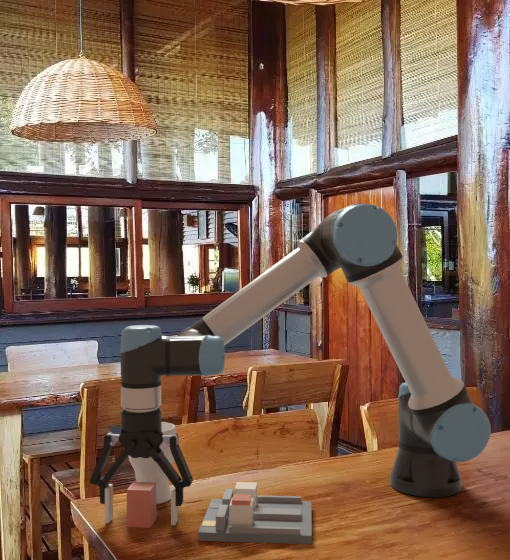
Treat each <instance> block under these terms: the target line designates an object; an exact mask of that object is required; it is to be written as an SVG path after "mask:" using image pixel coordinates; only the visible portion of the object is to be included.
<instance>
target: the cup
mask: <svg viewBox="0 0 510 560" xmlns="http://www.w3.org/2000/svg"><path fill="white" fill-rule="evenodd" d="M161 430H162V433H163V435H173V434H174V433H176V434H178V433H177V430H176V425H175V424H174V423H170V422H166V421H161ZM159 447H160V448H161V450H162V451H163V453H164V455H165V457H166V458H167V459H168V461H169V462H170V464H171V465H172V466H173V463H174V462H175V460H174V458H173V456H172V453H171V450H170V447H168V446H167V445H166V443H165V442H162V444H161V445H160V446H159ZM127 458H128V460H129V463H130V465H131V466H132V468H133V470H134V475H135V482H154V483H156V505H160V504H163V503H164V504H165V503H166V502H169V501H171V487H170V480H169V479H168V478H167V476H166V475H165V473H164V472H163V471H162V469H161V468H160V467H159V465H158V464H157V463H156V462H155V461H154V460H153V459H152V457H149V458H142V457H138V458H132V457H131V456H128V457H127Z"/></svg>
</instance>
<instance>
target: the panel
mask: <svg viewBox="0 0 510 560" xmlns="http://www.w3.org/2000/svg"><path fill="white" fill-rule="evenodd" d="M234 494H235V491H234V488H225V490H224V493H223V496H222V498H211V500H210V502H209V505H208V508H207V510H206V511H205V515H204V517H203V519H202V522H201V524H200V527H199V529H198V531H197V540H198V541H199V542H227V543H229V542H231V543H256V544H257V543H258V544H259V543H263V544H288V545H289V544H293V545H294V544H295V545H297V544H298V545H312V544H313V543H312V541H313V540H312V539H313V538H312V534H313V533H312V530H313V529H312V528H313V527H312V524H313V523H312V500H309V501H308V500H302V496H295V495H294V496H293V495H258V494H257V505H256V508H253V524H252V526H232V525H230V526H229V505H230V502H231V499H232V498H233V495H234Z"/></svg>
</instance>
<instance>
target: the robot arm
mask: <svg viewBox="0 0 510 560" xmlns="http://www.w3.org/2000/svg"><path fill="white" fill-rule="evenodd" d="M403 260H404V256H403V254H402V252H401V250H400V248H399V245H398V229H397V225H396V222H395V220H394V219H393V217H392V216H391V215H390V213H388V211H386V210H385V209H383V208H382V207H379V206H377V205H375V204H371V203H353V204H350V205H347V206H346V207H344V208H339V209H337V210H335V211H333V212H331V213H330V214H329V215H328V216H326V217H325V218H324V219H323V220H322V221H321V222H320V223H319V224H318V225H317V226H315V227H314V228H313V229H312V230H311V231H310V232H308V234H306V235H305V236H303V237H302V238H300V240H299V241H298V242H297V248H295V249H294V250H293V251H291V252H289V254H287V255H286V256H284V257H283V258H282V259H280V260H279V261H278V262H276V263H275V264H273V265H272V266H271V267H269V268H267V270H265V271H264V272H262V273H261V274H259V276H257V277H256V278H254V279H253V280H252V281H250V282H249V283H248V284H246V285H245V286H243V287H242V288H240V290H237V292H236V293H234V294H232V295H231V296H230V297H229V298H227V299H226V300H225V301H223V302H222V303H220V304H219V305H218V306H216V307H215V308H213V309H212V310H211V311H209V312H208V313H207V314H205V315H204V316H203V317H201V319H199V320H197V321H196V322H195V323H193V324H192V325H191V326H188V327H186V328H184V329H183V330H181V331H180V332H179V333H178V334H177V335H176V336H175V335H174V336H170V335H163V333H162V329H161V326H158V325H154V324H153V325H152V324H150V325H149V324H139V325H137V324H135V325H128V326H125V327H124V329H122V331H121V333H120V335H121V336H120V352H119V354H120V406H121V407H122V409H121V410H120V433H119V434H118V433H114V432H112V431H108V433H106V434H105V435H104V437H103V447H102V450H101V452H100V454H99V457H98V460H97V461H96V465H95V466H94V468H93V471H92V474H91V476H90V478H89V483H90V484H91V485H97V486H98V488H99V503H100V504H101V505H104V524H109V523H110V522H111V521H112V519H113V518H114V484H113V483H109V482H111V480H112V479H113V477H114V476H115V475H116V474H117V472H118V471H119V469H120V468H121V467H122V465H123V464H124V462H125V461H126V460H127V458H129V457H128V456H131V457H132V458H138V457H142V458H149V457H152V459H153V460H154V461H155V462H156V463H157V464H158V465H159V467H160V468H161V469H162V471H163V472H164V473H165V475H166V476H167V478H168V479H169V483H170V484H172V485H173V487H172V488H171V489H170V491H171V499H170V505H171V507H170V517H171V518H170V521H171V522H170V525H171V526H176V525H177V523H178V520H179V507H181V506H183V503H184V489H185V488H186V487H188V488H189V487H190V486H191V485H192V483H193V481H194V478H193V476H192V473H191V470H190V468H189V466H188V463H187V460H186V459H185V456H184V453H183V452H182V449H181V447H180V443H179V441H180V440H179V434H178V433H177V432H176V433H177V434H176V433H174V434H173V435H163V433H162V430H161V422H162V409H161V407H160V406H161V405H162V377H171V376H173V377H174V376H175V377H177V376H178V377H179V376H180V377H181V376H184V377H185V376H186V377H187V376H189V377H190V376H192V377H193V376H199V377H200V376H204V377H209V376H215V375H221V374H223V373H224V371H225V362H226V361H225V358H226V357H225V355H226V352H225V346H226V345H227V344H229V343H230V342H231V341H233V340H235V338H237V337H238V336H240V335H242V334H243V333H244V332H245V331H246V330H248V329H249V328H250V327H252V326H253V325H255V324H256V323H258V322H259V321H260V320H262V319H263V318H264V317H266V316H267V315H268V314H269V313H271V312H272V311H273V310H275V309H277V308H278V307H279V306H281V305H282V304H283V303H284V302H286V301H287V300H289V299H290V298H292V297H293V296H294V295H296V294H297V293H299V292H300V291H302V290H303V289H304V288H305V287H307V286H308V285H309V284H310V283H312V282H313V281H315V280H316V279H317V278H319V277H320V278H327V277H328V276H330V275H331V274H332V273H334V272H335V271H337V270H339V269H341V271H342V272H343V275H344V277H345V278H346V281H347V283H348V284H349V285H351V286H355V287H358V288H359V290H360V291H361V294H362V295H363V298H364V300H365V302H366V304H367V306H368V308H369V310H370V312H371V314H372V316H373V318H374V320H375V323H376V325H377V326H378V328H379V331H380V333H381V335H382V336H383V337H382V338H383V339H384V341H385V343H386V345H387V347H388V349H389V351H390V353H391V356H392V357H393V359H394V361H395V363H396V365H397V367H398V369H399V371H400V374H401V376H402V377H403V380H404V381H405V382H402V383H400V385H399V388H398V389H399V390H398V396H397V400H398V448H397V449H398V450H397V452H396V457H395V459H394V462H393V465H392V468H391V471H390V474H389V475H390V476H389V477H390V482H389V483H390V486H391V488H393V489H394V490H396V491H397V492H398V491H399V492H401V493H403V494H407V495H409V496H416V497H421V498H444V497H445V498H446V497H451V495H452V496H454V494H455V495H457V494H459V493H460V492H462V488H463V487H462V481H463V480H462V476H461V473H460V469H459V466H458V464H457V463H464V462H465V463H466V462H468V461H471V460H473V459H475V458H477V457H478V456H479V455H480V454H482V452H484V450H485V449H486V447H488V443H489V440H490V438H491V434H492V427H491V422H490V420H489V417H488V415H487V414H486V412H485V411H483V409H482V408H481V407H479V405H476V404H475V403H474V402H473V400H472V398H471V396H470V393H469V392H468V389H467V388H466V386H465V383H464V381H463V380H461V379H459V378H457V377H453V376H452V374H451V373H450V371H449V368H448V366H447V364H446V362H445V360H444V358H443V356H442V354H441V351H440V350H439V347H438V345H437V344H436V341H435V340H434V337H433V335H432V333H431V330H430V329H429V327H428V325H427V323H426V321H425V318H424V316H423V314H422V312H421V310H420V307H419V306H418V303H417V302H416V300H415V298H414V296H413V294H412V291H411V289H410V287H409V285H408V282H407V281H406V279H405V276H404V275H403V273H402V270H401V266H402V263H403ZM117 442H119V443H120V444H121V446H122V448H123V451H121V453H120V455H118V457H117V459H116V460H115V461H114V463H113V464H112V465H111V467H110V468H109V469H108V471H107V472H106V473H105V475H104V476H102V473H103V472H104V468H105V466H106V464H107V461H108V460H109V456H110V454H111V452H112V449H113V447H114V446H115V445H117ZM162 442H165V443H166V445H167V446H168V447H170V450H171V453H172V456H173V458H174V462H175V464H176V465H175V466H176V468H177V470H178V472H179V473H178V472H177V470H176V469H175V468H174V466H173V464H172V465H171V464H170V462H169V461H168V459H167V458H166V457H165V455H164V453H163V451H162V450H161V448H160V447H159V446H160V445H161V444H162ZM179 474H180V475H179Z"/></svg>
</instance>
